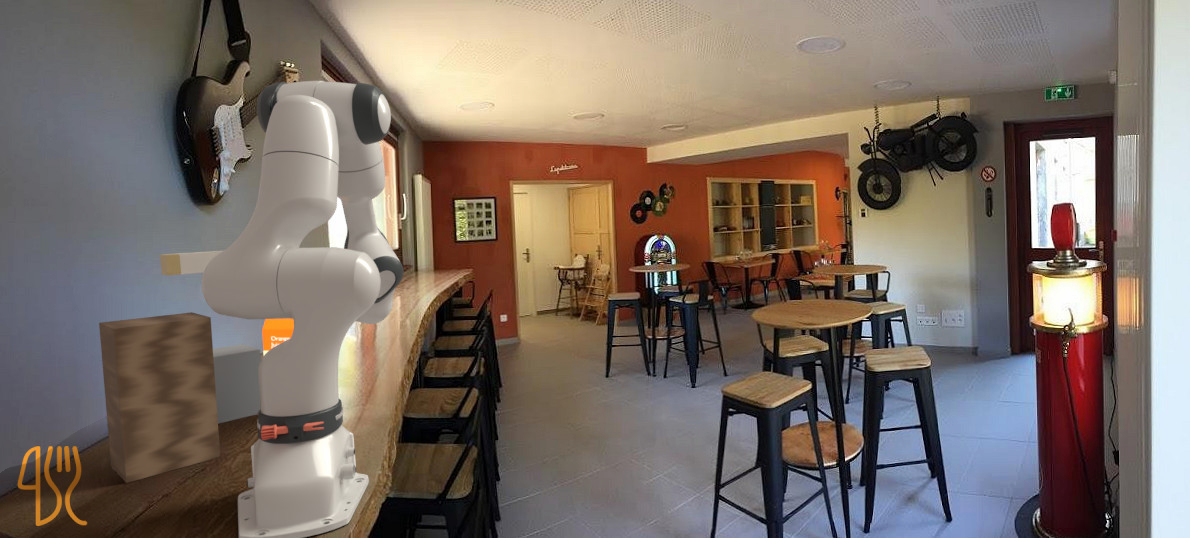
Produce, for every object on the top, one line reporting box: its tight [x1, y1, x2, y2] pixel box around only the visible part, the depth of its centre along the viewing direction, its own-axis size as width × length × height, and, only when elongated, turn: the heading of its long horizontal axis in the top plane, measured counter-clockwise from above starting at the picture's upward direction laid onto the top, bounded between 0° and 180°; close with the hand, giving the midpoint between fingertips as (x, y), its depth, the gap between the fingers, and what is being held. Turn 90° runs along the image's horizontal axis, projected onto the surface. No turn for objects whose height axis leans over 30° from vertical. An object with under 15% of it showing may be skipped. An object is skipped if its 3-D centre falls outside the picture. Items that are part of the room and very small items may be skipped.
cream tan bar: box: [159, 250, 224, 277], centre depth 115 cm, size 20×4×4 cm, turn 140°
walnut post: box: [98, 312, 221, 484], centre depth 108 cm, size 14×10×26 cm
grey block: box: [213, 343, 262, 425], centre depth 135 cm, size 10×10×14 cm
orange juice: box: [261, 319, 294, 356], centre depth 166 cm, size 8×9×20 cm
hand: (260, 255), depth 120 cm, fingers closed on cream tan bar, 4 cm apart
